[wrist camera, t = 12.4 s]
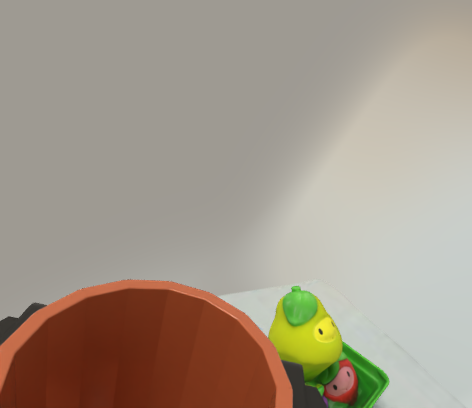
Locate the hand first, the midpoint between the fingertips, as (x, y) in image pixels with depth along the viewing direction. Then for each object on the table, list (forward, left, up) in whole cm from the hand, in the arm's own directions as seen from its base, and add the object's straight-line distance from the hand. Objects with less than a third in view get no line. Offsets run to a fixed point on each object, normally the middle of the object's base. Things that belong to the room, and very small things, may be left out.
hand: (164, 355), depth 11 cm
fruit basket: (+3, +16, -18) cm, 24 cm away
